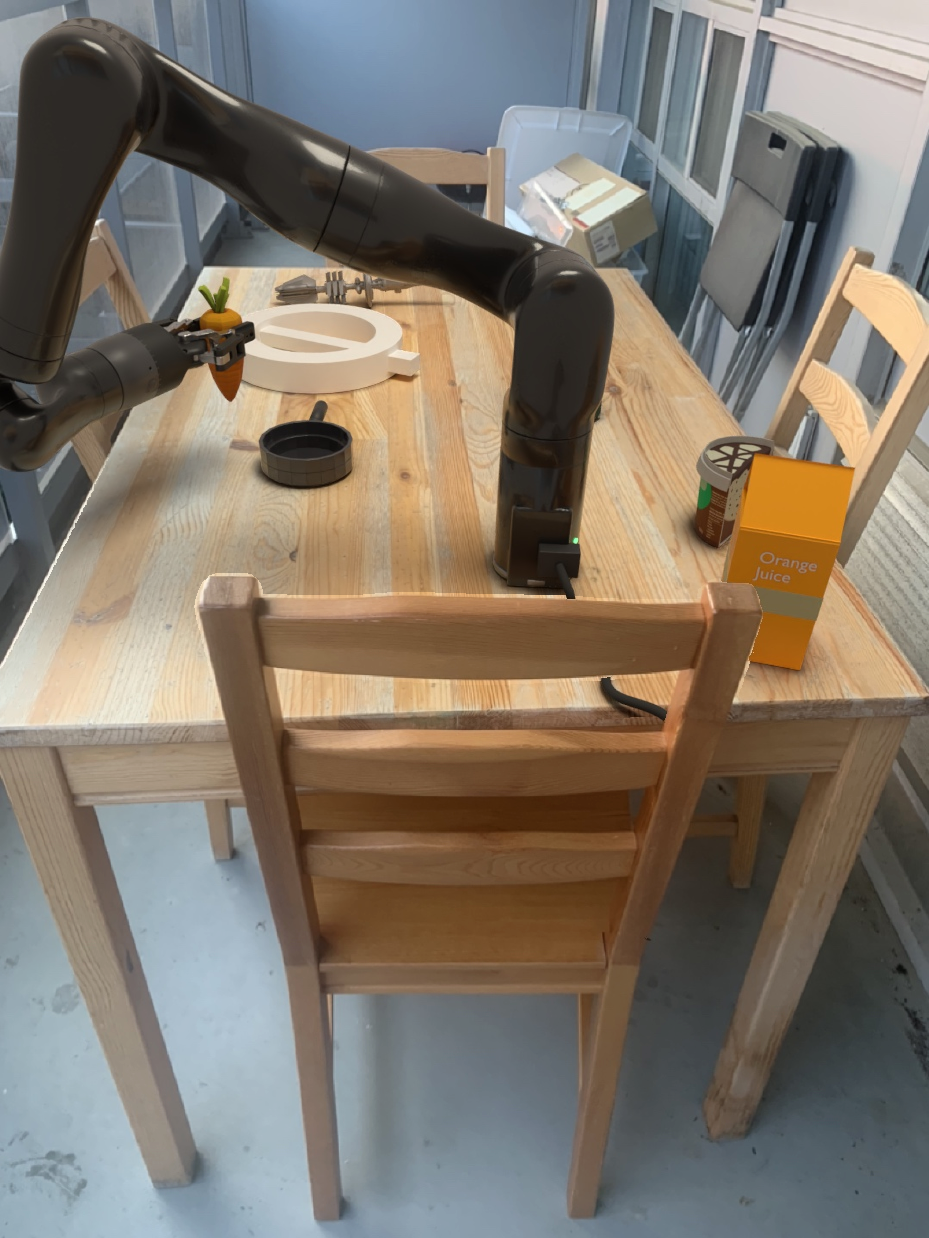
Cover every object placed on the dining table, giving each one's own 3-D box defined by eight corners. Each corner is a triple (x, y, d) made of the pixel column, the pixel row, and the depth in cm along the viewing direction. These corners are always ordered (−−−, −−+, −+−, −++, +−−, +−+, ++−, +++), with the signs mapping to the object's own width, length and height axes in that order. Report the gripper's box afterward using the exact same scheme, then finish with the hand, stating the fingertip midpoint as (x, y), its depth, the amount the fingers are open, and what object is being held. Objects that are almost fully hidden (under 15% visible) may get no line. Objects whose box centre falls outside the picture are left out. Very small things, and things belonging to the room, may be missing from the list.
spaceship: (463, 272, 166) (459, 244, 170) (270, 290, 165) (271, 262, 169) (465, 307, 173) (461, 279, 177) (279, 325, 172) (280, 297, 176)
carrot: (211, 410, 113) (194, 286, 104) (209, 395, 117) (193, 274, 108) (252, 408, 114) (239, 284, 105) (249, 392, 118) (236, 272, 109)
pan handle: (320, 433, 123) (319, 420, 122) (307, 432, 123) (306, 420, 122) (329, 410, 129) (328, 398, 128) (316, 410, 129) (315, 398, 128)
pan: (346, 491, 115) (345, 462, 113) (253, 487, 115) (249, 458, 113) (358, 449, 125) (357, 422, 122) (272, 445, 125) (269, 418, 122)
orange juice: (800, 671, 89) (859, 487, 77) (708, 653, 91) (752, 472, 79) (799, 625, 95) (853, 448, 83) (712, 610, 97) (754, 435, 85)
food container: (713, 497, 117) (729, 424, 111) (758, 513, 114) (777, 439, 108) (665, 534, 109) (679, 458, 103) (712, 553, 106) (730, 475, 100)
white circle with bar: (426, 381, 145) (426, 352, 142) (248, 402, 136) (244, 371, 133) (373, 324, 165) (373, 297, 162) (216, 339, 156) (212, 311, 154)
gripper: (175, 347, 95) (278, 304, 107) (75, 321, 100) (184, 284, 112) (186, 415, 99) (284, 367, 111) (90, 387, 104) (193, 344, 117)
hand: (233, 325), depth 112 cm, fingers closed on carrot, 5 cm apart
